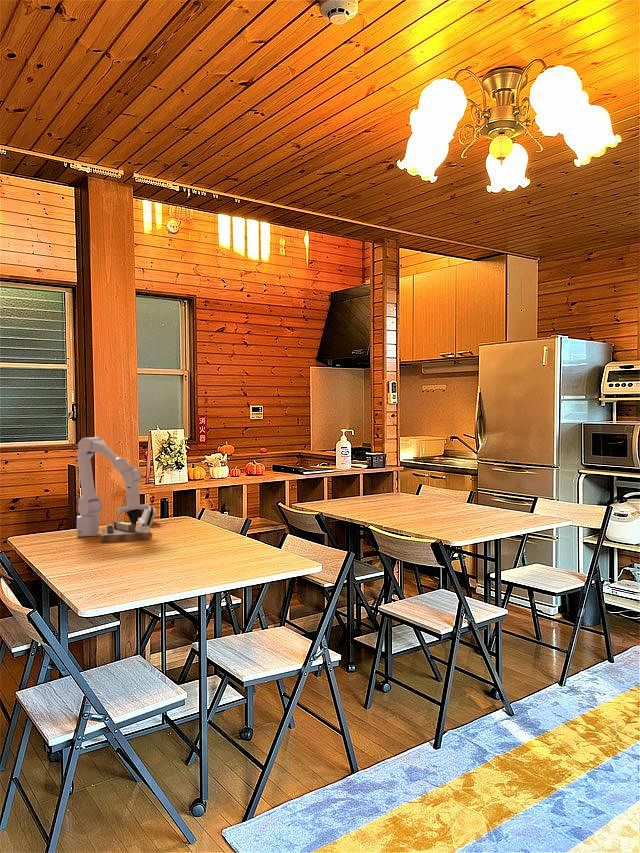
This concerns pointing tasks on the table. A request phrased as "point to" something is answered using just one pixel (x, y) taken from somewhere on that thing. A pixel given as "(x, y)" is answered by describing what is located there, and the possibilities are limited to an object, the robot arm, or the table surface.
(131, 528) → the folding leg
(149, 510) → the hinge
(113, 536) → the grey flat base
